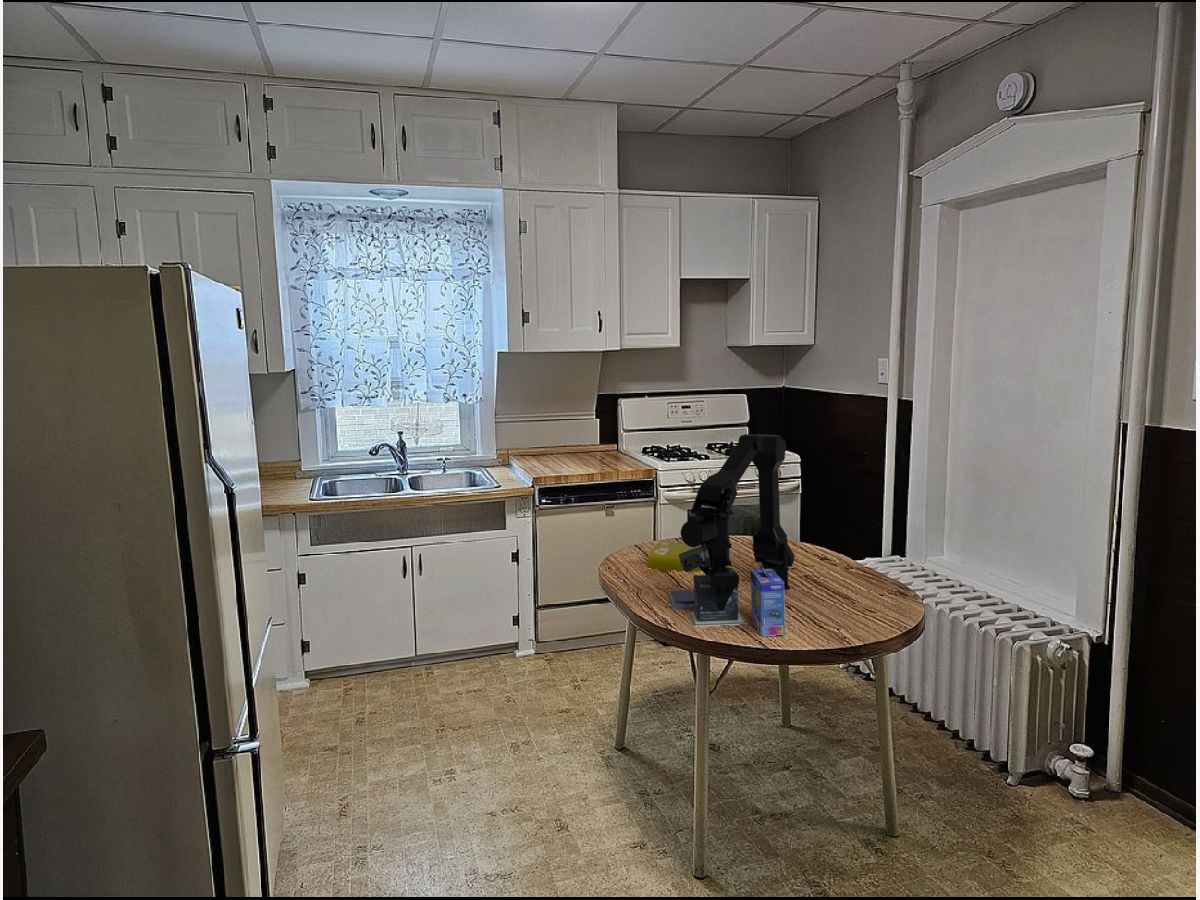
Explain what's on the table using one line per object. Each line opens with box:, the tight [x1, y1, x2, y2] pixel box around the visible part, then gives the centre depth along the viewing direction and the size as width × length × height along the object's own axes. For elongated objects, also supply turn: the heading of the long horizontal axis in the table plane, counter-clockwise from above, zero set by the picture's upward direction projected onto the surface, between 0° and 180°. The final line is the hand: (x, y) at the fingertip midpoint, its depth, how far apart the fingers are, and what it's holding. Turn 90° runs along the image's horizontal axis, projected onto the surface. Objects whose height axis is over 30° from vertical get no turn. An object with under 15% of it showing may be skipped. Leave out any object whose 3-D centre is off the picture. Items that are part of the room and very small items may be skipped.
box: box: [693, 574, 739, 621], centre depth 172 cm, size 9×6×10 cm, turn 93°
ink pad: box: [667, 589, 694, 610], centre depth 184 cm, size 9×9×2 cm
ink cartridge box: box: [750, 562, 786, 637], centre depth 165 cm, size 10×6×14 cm, turn 2°
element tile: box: [647, 541, 702, 573], centre depth 216 cm, size 15×15×5 cm
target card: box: [687, 608, 748, 628], centre depth 173 cm, size 12×9×1 cm
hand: (716, 603), depth 172 cm, fingers open, 9 cm apart
